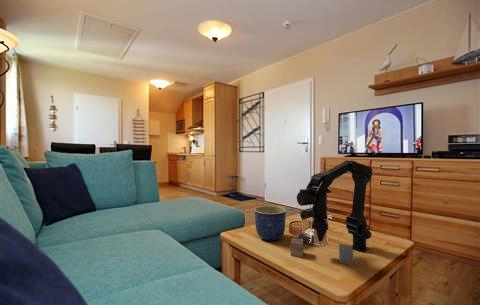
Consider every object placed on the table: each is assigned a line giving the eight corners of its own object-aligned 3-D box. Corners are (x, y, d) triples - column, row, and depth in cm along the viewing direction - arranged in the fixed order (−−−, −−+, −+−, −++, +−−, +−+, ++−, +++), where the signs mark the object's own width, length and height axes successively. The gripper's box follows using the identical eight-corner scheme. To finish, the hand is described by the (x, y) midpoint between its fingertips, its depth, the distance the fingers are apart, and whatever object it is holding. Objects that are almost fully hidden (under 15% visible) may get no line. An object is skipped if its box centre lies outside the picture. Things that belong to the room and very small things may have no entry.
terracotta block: (314, 239, 103) (314, 225, 103) (326, 240, 101) (326, 227, 101) (314, 243, 98) (314, 229, 98) (326, 244, 96) (326, 230, 96)
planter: (248, 236, 125) (248, 208, 125) (271, 229, 135) (271, 204, 134) (268, 246, 111) (268, 215, 111) (293, 239, 120) (292, 210, 120)
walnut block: (292, 251, 106) (292, 238, 106) (303, 252, 104) (303, 239, 104) (290, 255, 101) (290, 242, 101) (302, 257, 100) (302, 243, 100)
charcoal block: (339, 257, 99) (338, 243, 99) (351, 259, 98) (351, 245, 98) (339, 262, 95) (339, 248, 95) (353, 264, 93) (353, 250, 93)
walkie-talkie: (297, 233, 129) (292, 247, 111) (297, 225, 129) (292, 238, 111) (313, 235, 126) (311, 250, 108) (313, 227, 126) (311, 241, 108)
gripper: (302, 198, 111) (302, 230, 111) (299, 207, 93) (299, 245, 93) (327, 199, 107) (327, 232, 107) (328, 209, 89) (328, 248, 90)
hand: (320, 239), depth 99 cm, fingers closed on terracotta block, 5 cm apart
